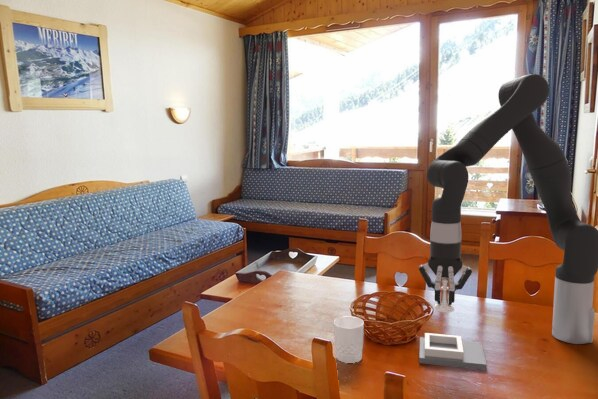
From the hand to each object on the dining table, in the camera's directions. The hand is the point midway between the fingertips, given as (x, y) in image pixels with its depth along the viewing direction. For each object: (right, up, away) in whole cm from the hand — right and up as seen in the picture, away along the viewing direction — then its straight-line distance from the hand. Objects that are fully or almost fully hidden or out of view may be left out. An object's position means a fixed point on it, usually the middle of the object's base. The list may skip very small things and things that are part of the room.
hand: (444, 303), depth 119 cm
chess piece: (0, -2, 0) cm, 2 cm away
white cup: (-25, -15, +2) cm, 29 cm away
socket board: (+2, -14, +1) cm, 14 cm away
